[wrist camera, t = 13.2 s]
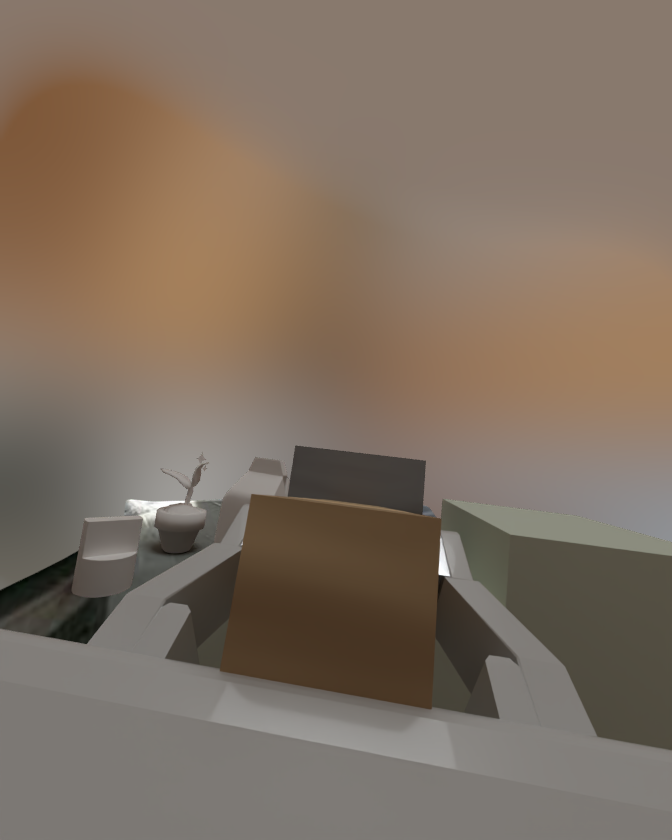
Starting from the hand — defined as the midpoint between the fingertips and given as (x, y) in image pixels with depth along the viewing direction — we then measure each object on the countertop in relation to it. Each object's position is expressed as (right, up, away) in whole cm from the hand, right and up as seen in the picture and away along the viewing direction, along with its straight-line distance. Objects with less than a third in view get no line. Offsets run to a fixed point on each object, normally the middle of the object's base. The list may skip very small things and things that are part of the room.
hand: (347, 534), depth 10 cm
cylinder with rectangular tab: (-42, -27, +50) cm, 71 cm away
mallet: (0, -3, +5) cm, 6 cm away
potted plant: (-41, -29, +74) cm, 89 cm away
